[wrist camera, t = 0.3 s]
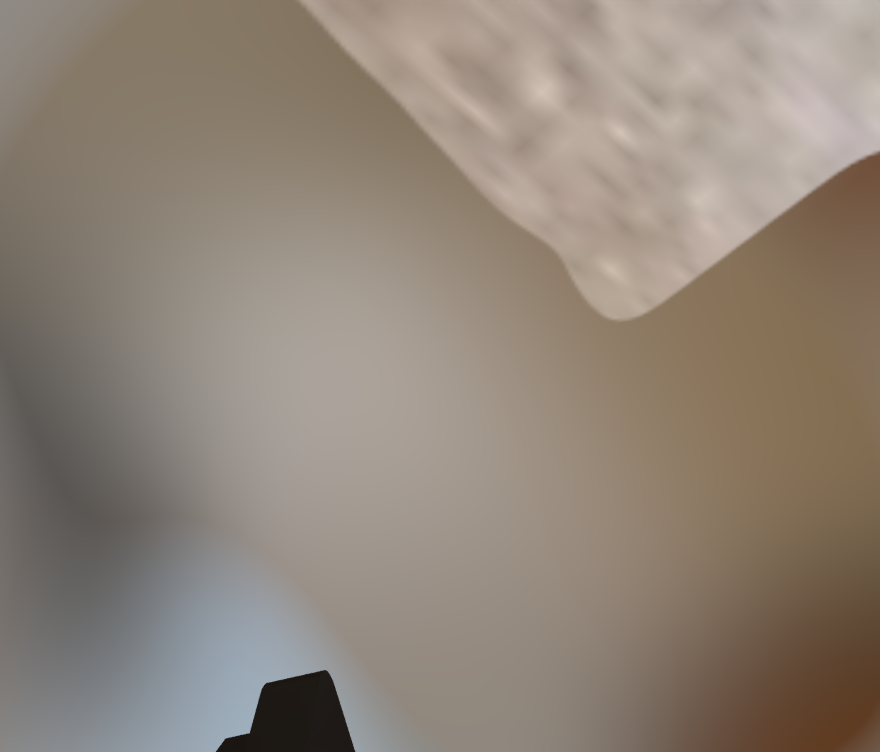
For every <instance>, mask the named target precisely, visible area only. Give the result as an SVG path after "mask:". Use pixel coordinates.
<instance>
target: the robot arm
mask: <svg viewBox="0 0 880 752" xmlns="http://www.w3.org/2000/svg"><path fill="white" fill-rule="evenodd" d="M216 752H355V750H354V747H353V743H352V740H351V737H350V734H349V731H348V727H347V724H346V721H345V718H344V715H343V711H342V708H341V705H340V702H339V698H338V695H337V692H336V689H335V686H334V683H333V680H332V678H331V676H330V674H329V673H328V671H326V670H323V671H319V672H315V673H310V674H305V675H301V676H296V677H292V678H287V679H283V680H278V681H274V682H269V683H266V684H265V685H264V687H263V688H262V691H261V694H260V698H259V701H258V705H257V708H256V712H255V716H254V720H253V723H252V727H251V731H250V733H249V734H244V735H240V736H235V737H231V738H226V739H225V740H224V741H223V743H222V744H221V745H220V747H219V748H218V750H217V751H216Z"/></svg>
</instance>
